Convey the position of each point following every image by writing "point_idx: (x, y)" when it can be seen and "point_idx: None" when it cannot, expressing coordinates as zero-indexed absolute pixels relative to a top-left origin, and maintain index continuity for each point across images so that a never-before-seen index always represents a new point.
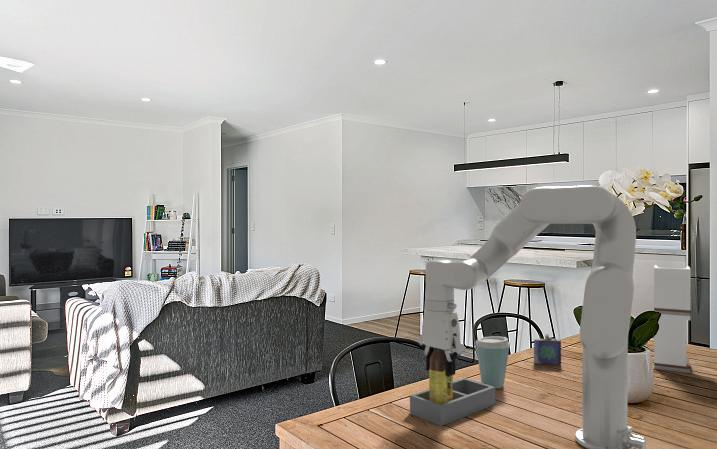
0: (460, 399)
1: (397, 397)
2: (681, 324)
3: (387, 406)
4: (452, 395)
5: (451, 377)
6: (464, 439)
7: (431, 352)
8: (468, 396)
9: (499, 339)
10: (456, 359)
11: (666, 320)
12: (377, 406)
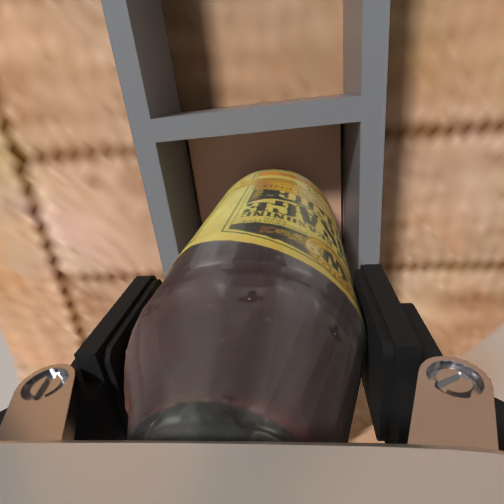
0: (381, 193)
1: (20, 222)
2: None
3: (96, 309)
4: (328, 208)
5: (348, 268)
6: (497, 302)
7: (90, 426)
8: (383, 113)
9: None
10: (469, 372)
11: None
12: (82, 334)
